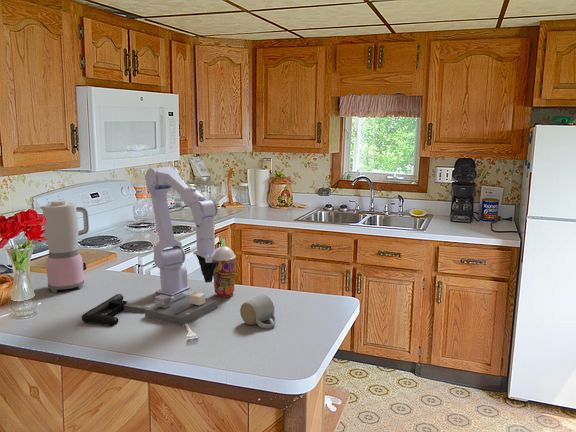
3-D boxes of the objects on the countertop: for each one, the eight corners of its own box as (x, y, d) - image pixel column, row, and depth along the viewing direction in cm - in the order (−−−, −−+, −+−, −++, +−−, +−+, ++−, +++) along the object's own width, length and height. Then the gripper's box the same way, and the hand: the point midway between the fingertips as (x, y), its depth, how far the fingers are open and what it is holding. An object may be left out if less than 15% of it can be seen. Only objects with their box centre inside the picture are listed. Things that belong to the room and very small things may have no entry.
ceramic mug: (238, 322, 156) (238, 298, 154) (258, 314, 162) (258, 291, 160) (262, 332, 149) (262, 307, 147) (282, 324, 154) (282, 300, 153)
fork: (188, 318, 161) (187, 313, 161) (200, 343, 143) (199, 336, 142) (177, 320, 160) (177, 314, 160) (188, 345, 142) (188, 338, 141)
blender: (51, 295, 181) (42, 205, 175) (44, 286, 191) (36, 200, 185) (97, 286, 190) (90, 200, 184) (89, 278, 200) (82, 196, 194)
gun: (156, 298, 171) (113, 292, 175) (124, 321, 152) (76, 313, 156) (156, 307, 172) (113, 301, 175) (124, 331, 153) (76, 324, 156)
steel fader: (161, 302, 164) (161, 294, 164) (171, 305, 163) (170, 296, 162) (154, 305, 162) (154, 297, 161) (164, 308, 160) (164, 299, 159)
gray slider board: (181, 300, 175) (181, 292, 175) (217, 307, 168) (217, 300, 167) (145, 316, 161) (144, 309, 160) (182, 326, 153) (181, 317, 153)
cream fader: (195, 300, 167) (195, 292, 166) (205, 302, 165) (205, 294, 164) (189, 303, 164) (189, 294, 163) (199, 305, 162) (199, 296, 162)
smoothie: (221, 300, 175) (219, 242, 171) (207, 294, 181) (205, 238, 177) (241, 294, 180) (240, 238, 176) (227, 289, 186) (226, 234, 182)
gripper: (190, 233, 171) (192, 273, 174) (194, 243, 157) (196, 286, 160) (212, 232, 173) (213, 271, 175) (218, 242, 159) (219, 284, 162)
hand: (207, 278), depth 168 cm, fingers open, 7 cm apart
